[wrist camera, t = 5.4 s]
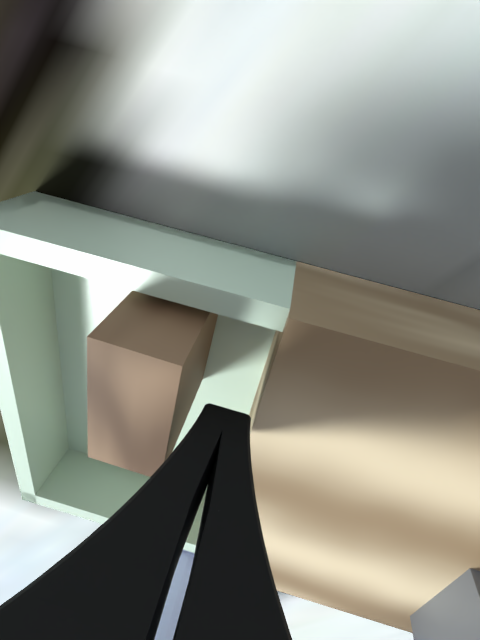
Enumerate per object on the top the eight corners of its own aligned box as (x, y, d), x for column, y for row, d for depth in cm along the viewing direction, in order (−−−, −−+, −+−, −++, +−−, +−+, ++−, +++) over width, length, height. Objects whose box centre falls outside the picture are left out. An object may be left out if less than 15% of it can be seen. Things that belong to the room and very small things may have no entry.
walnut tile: (160, 480, 12) (87, 456, 12) (202, 379, 16) (148, 362, 16) (182, 366, 9) (86, 336, 9) (226, 281, 13) (161, 261, 13)
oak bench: (531, 586, 20) (574, 683, 17) (223, 493, 21) (205, 567, 18) (820, 401, 12) (1018, 518, 9) (296, 261, 13) (288, 318, 9)
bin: (223, 493, 21) (208, 557, 18) (62, 444, 21) (22, 499, 18) (296, 261, 13) (290, 309, 10) (34, 191, 13) (-47, 216, 10)
